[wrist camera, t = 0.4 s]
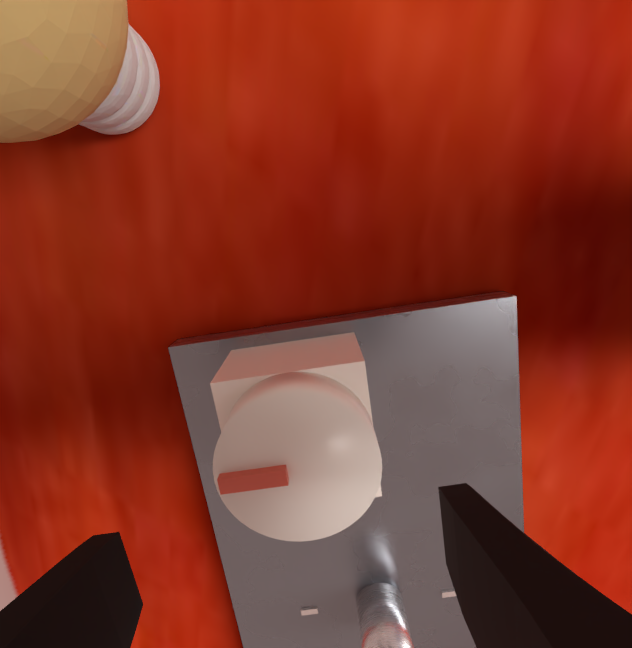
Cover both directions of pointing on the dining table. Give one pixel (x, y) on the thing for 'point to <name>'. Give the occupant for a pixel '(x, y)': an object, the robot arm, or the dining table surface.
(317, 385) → the knob
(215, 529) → the panel
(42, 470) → the dining table surface
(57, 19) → the light bulb
